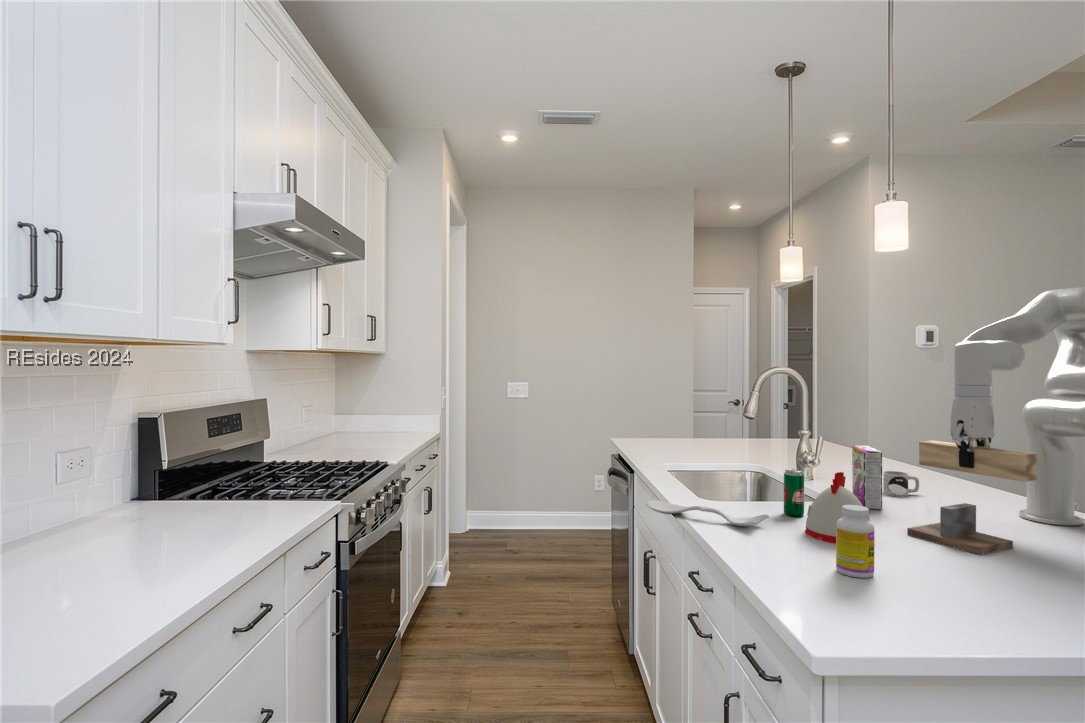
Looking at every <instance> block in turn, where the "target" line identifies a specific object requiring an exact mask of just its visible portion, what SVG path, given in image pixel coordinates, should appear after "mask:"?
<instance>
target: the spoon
mask: <svg viewBox="0 0 1085 723" xmlns="http://www.w3.org/2000/svg"><path fill="white" fill-rule="evenodd" d="M645 506H646V507H648V508H649V509H651V510H652V511H654V512H657V513H661V514H664V515H674V514H675V515H677V514H680V513H681V514H682V513H685V512H691V511H701V512H705V513H706V512H707V513H712V514H713V513H714V514H716V515H718V516H721V517H722V518H723V519H725V521H727V522H729V523H730V524H732V525H734V526H738V527H751V526H757V525H760V523H762V522H765V520H767V519H769V517H770V516H769V515H768V514H759V515H756V516H755V515H754V516H749V517H747V516H744V517H734V516H731V515H728V514H727V513H725V512H724V511H721V510H720V509H717V508H713V507H708V506H701V505H693V506H685V505H679V504H674V503H671V502H666V501H661V500H653V499H652V500H650V499H649V500H648V501H646V502H645Z"/></svg>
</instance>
